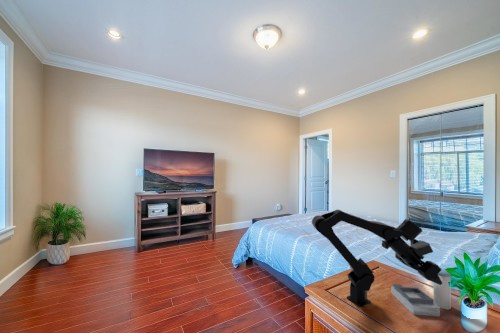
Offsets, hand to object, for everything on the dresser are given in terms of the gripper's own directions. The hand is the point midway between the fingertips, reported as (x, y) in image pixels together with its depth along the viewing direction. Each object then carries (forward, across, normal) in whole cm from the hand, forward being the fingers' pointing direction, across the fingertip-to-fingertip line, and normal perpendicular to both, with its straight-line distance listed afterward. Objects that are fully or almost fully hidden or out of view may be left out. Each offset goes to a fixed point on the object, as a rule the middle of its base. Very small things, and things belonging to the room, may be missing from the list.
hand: (431, 277), depth 84 cm
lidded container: (+10, 0, +5) cm, 11 cm away
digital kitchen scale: (+2, 0, +12) cm, 13 cm away
